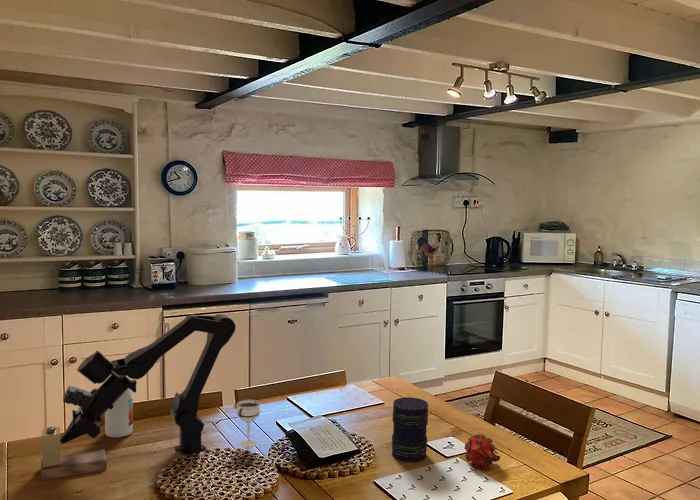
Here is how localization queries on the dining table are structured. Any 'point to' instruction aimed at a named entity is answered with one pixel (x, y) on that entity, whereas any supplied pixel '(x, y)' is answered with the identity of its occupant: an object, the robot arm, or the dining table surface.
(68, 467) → the body
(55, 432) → the beige rectangular block
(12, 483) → the dining table surface
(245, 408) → the wineglass
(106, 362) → the robot arm
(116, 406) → the milk bottle
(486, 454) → the dragon fruit
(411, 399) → the dark blue cylinder
